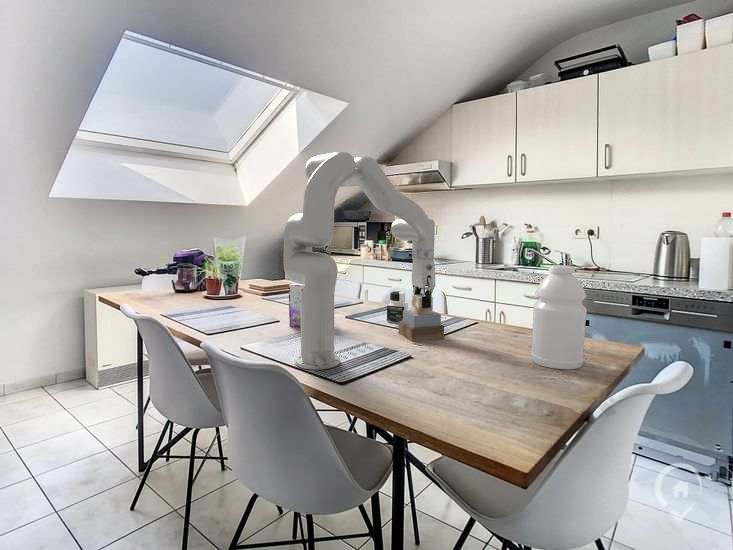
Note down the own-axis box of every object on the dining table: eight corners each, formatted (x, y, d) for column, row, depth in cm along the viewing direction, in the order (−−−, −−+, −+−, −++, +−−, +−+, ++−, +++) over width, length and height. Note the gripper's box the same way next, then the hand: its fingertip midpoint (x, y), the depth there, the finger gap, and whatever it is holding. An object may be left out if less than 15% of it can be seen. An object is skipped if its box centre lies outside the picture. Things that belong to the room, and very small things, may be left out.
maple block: (432, 313, 154) (432, 296, 153) (417, 314, 152) (418, 297, 151) (425, 310, 159) (425, 294, 158) (411, 311, 157) (411, 294, 157)
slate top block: (440, 325, 153) (440, 314, 153) (414, 327, 150) (414, 316, 150) (428, 319, 163) (428, 308, 162) (402, 321, 160) (402, 310, 159)
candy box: (327, 324, 174) (326, 282, 172) (324, 327, 169) (324, 285, 167) (292, 323, 176) (292, 282, 174) (288, 326, 170) (288, 284, 168)
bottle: (551, 372, 120) (557, 269, 117) (520, 357, 133) (525, 264, 130) (594, 367, 124) (601, 268, 120) (560, 353, 137) (565, 263, 134)
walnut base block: (443, 340, 153) (444, 326, 153) (412, 343, 150) (412, 328, 149) (428, 331, 165) (428, 318, 164) (398, 334, 161) (398, 320, 160)
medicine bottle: (386, 322, 178) (386, 292, 177) (390, 318, 185) (391, 290, 184) (404, 323, 176) (404, 293, 175) (407, 319, 183) (408, 291, 181)
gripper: (444, 256, 146) (443, 310, 148) (422, 252, 162) (421, 301, 165) (424, 257, 144) (422, 311, 146) (403, 253, 160) (402, 302, 162)
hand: (421, 305), depth 155 cm, fingers open, 6 cm apart
